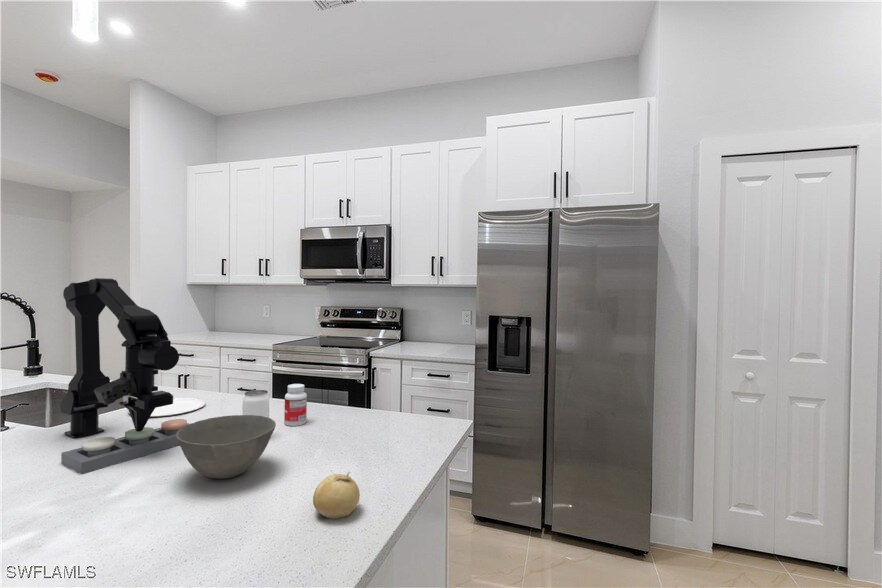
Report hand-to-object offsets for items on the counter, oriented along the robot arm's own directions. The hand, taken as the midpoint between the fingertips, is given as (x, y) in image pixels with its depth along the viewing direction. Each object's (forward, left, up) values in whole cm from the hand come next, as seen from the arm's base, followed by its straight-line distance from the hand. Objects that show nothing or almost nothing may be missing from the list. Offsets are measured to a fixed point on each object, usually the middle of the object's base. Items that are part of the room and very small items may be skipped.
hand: (139, 431), depth 101 cm
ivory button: (0, -8, -4) cm, 9 cm away
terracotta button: (0, +8, -4) cm, 9 cm away
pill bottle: (+15, +34, -5) cm, 37 cm away
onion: (+60, +4, -5) cm, 60 cm away
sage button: (0, 0, -4) cm, 4 cm away
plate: (-30, +22, -5) cm, 37 cm away
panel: (0, 0, -4) cm, 4 cm away
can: (+16, +20, -5) cm, 26 cm away
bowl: (+30, +3, -5) cm, 31 cm away
